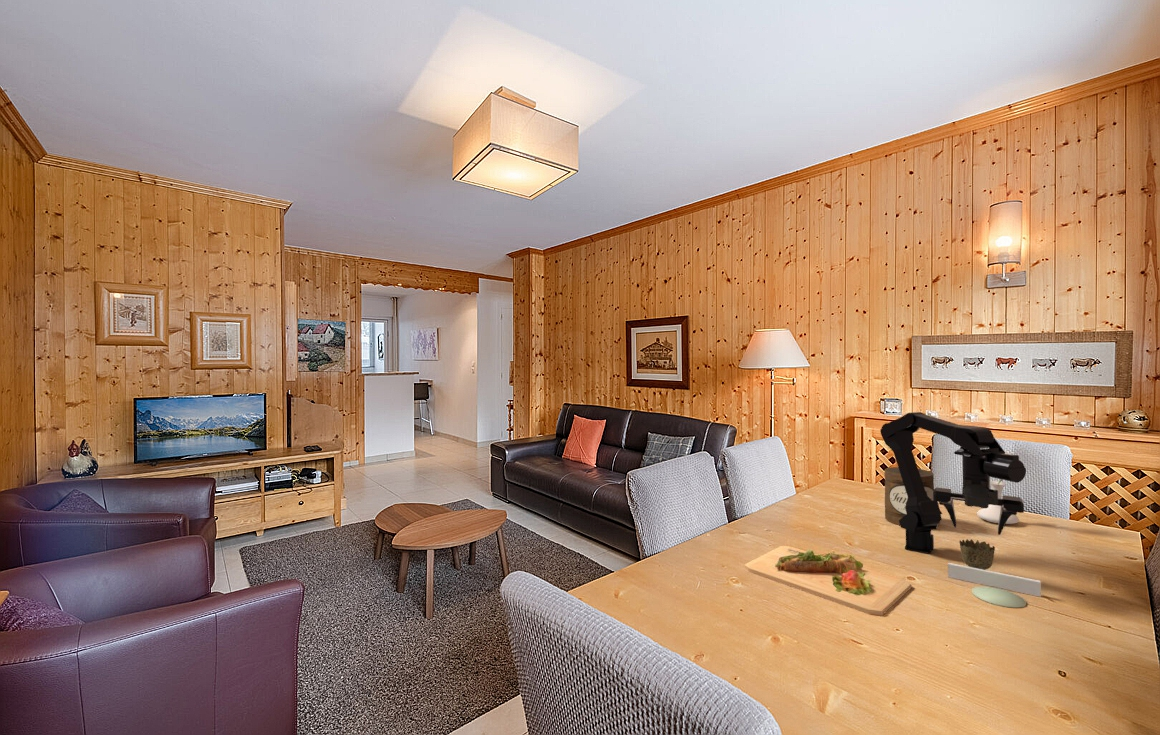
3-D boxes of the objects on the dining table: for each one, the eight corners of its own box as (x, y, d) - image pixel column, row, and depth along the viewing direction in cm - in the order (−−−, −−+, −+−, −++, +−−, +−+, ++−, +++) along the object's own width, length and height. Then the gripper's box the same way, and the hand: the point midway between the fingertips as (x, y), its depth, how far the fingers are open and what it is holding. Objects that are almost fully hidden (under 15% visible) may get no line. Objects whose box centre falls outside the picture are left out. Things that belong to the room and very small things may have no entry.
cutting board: (913, 588, 124) (912, 559, 124) (879, 620, 109) (878, 587, 109) (783, 550, 151) (782, 526, 151) (742, 571, 137) (741, 545, 136)
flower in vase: (969, 519, 173) (968, 450, 173) (987, 514, 178) (986, 447, 178) (1014, 530, 161) (1013, 456, 161) (1032, 525, 166) (1031, 452, 166)
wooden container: (892, 526, 168) (891, 464, 168) (879, 513, 182) (878, 455, 182) (942, 530, 163) (941, 465, 163) (925, 516, 178) (924, 457, 177)
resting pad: (971, 599, 117) (971, 598, 117) (972, 584, 124) (972, 583, 124) (1027, 612, 110) (1027, 610, 110) (1024, 595, 118) (1024, 594, 118)
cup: (1002, 580, 126) (1001, 549, 126) (970, 578, 128) (969, 548, 128) (984, 568, 133) (983, 539, 133) (954, 566, 135) (953, 538, 135)
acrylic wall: (948, 577, 129) (947, 564, 129) (948, 575, 129) (948, 562, 129) (1041, 596, 117) (1040, 582, 117) (1040, 594, 118) (1040, 580, 118)
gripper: (931, 474, 130) (932, 532, 130) (1025, 485, 118) (1025, 548, 118) (934, 467, 139) (934, 521, 139) (1021, 476, 127) (1022, 534, 127)
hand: (976, 530), depth 131 cm, fingers open, 9 cm apart
